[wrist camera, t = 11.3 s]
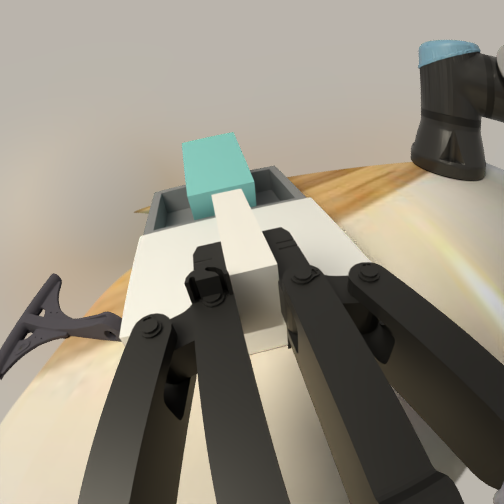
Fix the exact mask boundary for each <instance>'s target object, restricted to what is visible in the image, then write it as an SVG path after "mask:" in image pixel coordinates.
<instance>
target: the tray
mask: <svg viewBox="0 0 504 504" xmlns="http://www.w3.org/2000/svg"><path fill="white" fill-rule="evenodd" d="M250 172H251V175H252V177H253V180H254V183H255V195H256V206H255V207H250V208H251V209H256V208H261V207H265V206H270V205H275V204H280V203H284V202H289V201H294V200H299V199H304V198H306V197H305V196H304V195H303V194H302V193H301V192H300V191H299V190H298V188H297V187H296V186H295V185H294V184H293V183H292V182H291V181H290V180H289V179H288V178H287V177H286V176H284V175H283V173H282V172H281V171H279V170H278V169H277V168H276V167H275V166H271V167H265V168H260V169H255V170H250ZM211 218H216V216H210V217H206V218H202V219H198V220H194V217H193V214H192V211H191V207H190V204H189V201H188V197H187V189H186V185H182V186H179V187H174V188H170V189H167V190H163V191H159V192H155V193H154V197H153V200H152V204H151V207H150V211H149V215H148V219H147V222H146V226H145V230H144V234H143V235H147V234H151V233H154V232H158V231H162V230H166V229H170V228H174V227H178V226H182V225H186V224H190V223H195V222H199V221H203V220H207V219H211Z"/></svg>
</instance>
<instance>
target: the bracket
mask: <svg viewBox="0 0 504 504" xmlns="http://www.w3.org/2000/svg"><path fill="white" fill-rule="evenodd" d="M61 284H62V280H61V278H60V277H59V276H58V275H57V274H52V275H51V276H50V277H49V279H48V280H47V281H46V283H45V284H44V285H43V286H42V288H41V289H40V291H39V292H38V293H37V295H36V296H35V297H34V299H33V300H32V302H31V303H30V304H29V306H28V307H27V309H26V310H25V312H24V313H23V315H22V316H21V318H20V319H19V321H18V322H17V323H16V325H15V327H14V328H13V330H12V331H11V333H10V334H9V336H8V338H7V339H6V341H5V342H4V344H3V346H2V348H1V349H0V380H2V378H3V377H4V375H5V374H6V373H7V372H8V371H9V370H10V368H11V367H12V366H13V365H14V364H15V363H16V362H17V361H18V360H20V359H21V358H22V357H23V356H24V355H25V354H27V353H28V352H30V351H31V350H33V349H35V348H36V347H37V346H39V345H41V344H44V343H47V342H49V341H52V340H56V339H60V338H63V339H66V337H68V336H76V337H84V338H92V339H100V340H110V341H120V342H122V341H121V340H120V338H119V336H120V329H121V323H122V318H121V317H119V316H117V315H116V314H113V313H111V312H103V313H101V314H98V315H94V316H89V317H84V318H79V319H72V318H70V317H68V316H67V315H65V314H64V313H63V312H62V311H61V309H60V306H59V291H60V288H61ZM43 309H44V310H45V315H44V317H41V316H39V315H40V313H41V312H42V310H43ZM109 331H110V332H112V333H113V334H115V335H113V334H111V333H110V332H109ZM28 333H33V334H32V335H31V336H30V337H28V338H27V339H25V337H26V336H27V334H28ZM24 339H25V340H24Z"/></svg>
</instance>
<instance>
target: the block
mask: <svg viewBox="0 0 504 504" xmlns="http://www.w3.org/2000/svg"><path fill="white" fill-rule="evenodd" d="M182 150H183V160H184V171H185V180H186V189H187V197H188V201H189V204H190V207H191V211H192V214H193V217H194V220H198V219H202V218H206V217H210V216H215V211H214V206H213V201H212V196H211V195H213V194H218V193H222V192H227V191H231V190H236V189H242V191H243V193H244V195H245V197H246V199H247V202H248V204H249V206H250V207H255V206H256V195H255V183H254V180H253V177H252V175H251V172H250V170H249V168H248V165H247V163H246V161H245V158H244V156H243V154H242V151H241V149H240V147H239V144H238V142H237V140H236V137H235V135H234V133H233V132H232V133H227V134H222V135H217V136H212V137H208V138H203V139H199V140H194V141H190V142H186V143H182Z"/></svg>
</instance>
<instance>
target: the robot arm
mask: <svg viewBox="0 0 504 504" xmlns="http://www.w3.org/2000/svg"><path fill="white" fill-rule="evenodd" d="M418 68H420V81H421V121H420V125H419V128H418V131H417V135H416V139H415V142H414V143H413V145H412V147H411V160H412V161H413V162H414V163H415V164H416V165H418V166H420V167H421V168H423V169H426V170H428V171H431V172H433V173H436V174H440V175H443V176H447V177H451V178H456V179H462V180H479V179H482V178H483V177H484V175H485V168H486V162H485V156H484V149H483V143H482V138H481V131H480V130H481V117H486V118H490V119H493V120H497V121H500V122H503V123H504V45H503V46H502V47H501V48H500V49H499V50H498V53H497V57H493V56H488V55H485V54H481V53H480V49H479V47H478V45H476V44H474V43H470V42H466V41H457V40H436V41H429V42H425V43H423V44H421V46H420V47H419V65H418ZM211 196H212V201H213V206H214V211H215V216H216V221H217V226H218V231H219V236H220V240H221V241H220V242H216V243H211V244H207V245H203V246H198V247H197V248H196V250H195V252H194V253H193V269H194V270H193V271H192V272H190V273H189V275H188V276H187V277H186V279H185V283H184V284H185V287H186V289H187V292H188V295H189V297H190V300H191V303H192V305H191V306H190V307H189V308H188V309H187V310H186V311H184V312H183V313H181V314H179V315H177V316H175V317H173V318H171V319H169V317H167V316H166V315H164V314H159V313H155V314H149V315H147V316H145V317H143V318H141V319H140V320H139V321H138V322H137V323H136V324H135V326H134V327H133V329H132V331H131V334H130V336H129V339H128V341H127V344H126V346H125V349H124V352H123V354H122V357H121V359H120V362H119V365H118V368H117V370H116V373H115V376H114V379H113V381H112V384H111V387H110V390H109V393H108V396H107V399H106V402H105V405H104V408H103V411H102V414H101V417H100V420H99V424H98V427H97V430H96V434H95V437H94V440H93V444H92V447H91V451H90V455H89V458H88V462H87V466H86V470H85V474H84V478H83V482H82V486H81V491H80V495H79V500H78V504H176V503H177V495H178V488H179V481H180V474H181V467H182V460H183V454H184V447H185V441H186V435H187V429H188V423H189V417H190V411H191V405H192V399H193V393H194V388H195V382H196V374H197V373H198V382H199V391H200V399H201V408H202V415H203V423H204V430H205V437H206V444H207V451H208V457H209V463H210V469H211V475H212V480H213V486H214V491H215V497H216V502H217V504H290V501H289V498H288V494H287V491H286V488H285V484H284V481H283V478H282V474H281V471H280V467H279V464H278V460H277V457H276V453H275V450H274V446H273V443H272V439H271V436H270V432H269V428H268V425H267V421H266V417H265V414H264V410H263V406H262V403H261V399H260V395H259V391H258V387H257V384H256V380H255V376H254V372H253V368H252V364H251V360H250V356H249V353H248V349H247V345H246V341H245V337H244V334H247V333H251V332H256V331H260V330H264V329H268V328H272V327H276V326H279V325H283V318H284V321H285V323H286V326H287V339H288V349H289V348H291V347H292V349H293V352H294V354H295V357H296V360H297V362H298V365H299V368H300V370H301V373H302V376H303V378H304V381H305V384H306V386H307V389H308V392H309V394H310V397H311V399H312V402H313V405H314V407H315V410H316V413H317V415H318V418H319V421H320V423H321V426H322V429H323V431H324V434H325V437H326V439H327V442H328V445H329V447H330V450H331V453H332V455H333V458H334V461H335V463H336V466H337V469H338V471H339V474H340V477H341V479H342V482H343V485H344V487H345V490H346V493H347V496H348V498H349V501H350V504H464V502H463V500H462V498H461V495H460V493H459V491H458V489H457V487H456V485H455V484H454V482H453V481H452V480H451V479H450V478H449V477H448V476H447V475H445V474H443V473H440V472H438V471H437V470H435V469H434V467H433V466H432V464H431V462H430V460H429V458H428V456H427V454H426V452H425V450H424V448H423V446H422V444H421V442H420V440H419V438H418V436H417V434H416V432H415V430H414V429H413V427H412V425H411V423H410V421H409V419H408V417H407V415H406V413H405V411H404V410H403V408H402V406H401V404H400V402H399V400H398V398H397V397H396V395H395V393H394V391H393V389H392V387H393V388H394V389H395V390H396V391H397V392H398V393H399V394H400V395H401V396H402V397H403V398H404V399H405V400H406V401H407V403H408V404H409V405H410V406H411V407H412V408H413V409H414V410H415V411H416V412H417V413H418V414H419V415H420V416H421V418H422V419H423V420H424V421H425V422H426V423H427V424H428V425H429V426H430V427H431V428H432V429H433V430H434V431H435V433H436V434H437V435H438V436H439V437H440V438H441V439H442V440H443V441H444V442H445V443H446V444H447V446H448V447H449V448H450V449H451V450H452V451H453V452H454V453H455V454H456V455H457V456H458V457H459V459H460V460H461V461H462V462H463V463H464V464H465V465H466V466H467V467H468V468H469V469H470V471H471V472H472V473H474V474H475V475H476V476H477V477H478V478H479V479H480V480H481V481H483V482H484V483H486V484H488V485H489V486H491V487H493V488H495V489H497V490H498V491H497V492H496V493H495V495H494V498H493V503H494V504H504V365H503V364H502V363H500V362H499V361H498V360H497V359H496V358H495V357H494V356H493V355H492V354H490V353H489V352H488V351H487V350H486V349H485V348H484V347H483V346H481V345H480V344H479V343H478V342H477V341H476V340H475V339H473V338H472V337H471V336H470V335H469V334H468V333H466V332H465V331H464V330H463V329H462V328H460V327H459V326H458V325H457V324H456V323H454V322H453V321H452V320H451V319H450V318H448V317H447V316H446V315H445V314H443V313H442V312H441V311H440V310H438V309H437V308H436V307H435V306H433V305H432V304H431V303H430V302H428V301H427V300H426V299H425V298H423V297H422V296H421V295H419V294H418V293H417V292H415V291H414V290H413V289H412V288H410V287H409V286H408V285H406V284H405V283H404V282H402V281H401V280H400V279H398V278H397V277H396V276H394V275H393V274H392V273H390V272H389V271H388V270H386V269H385V268H384V267H382V266H380V265H378V264H375V263H371V262H362V263H358V264H355V265H354V266H353V267H351V268H350V271H349V273H348V276H328V275H324V274H323V272H322V271H321V270H320V269H319V268H317V267H315V266H312V265H310V264H309V262H308V261H307V259H306V257H305V256H304V254H303V253H302V251H301V249H300V248H299V246H297V243H296V242H295V240H294V238H293V237H292V235H291V234H290V232H289V231H287V230H285V229H283V228H282V227H279V228H274V229H269V230H265V231H261V229H260V226H259V224H258V222H257V220H256V218H255V216H254V214H253V212H252V210H251V208H250V206H249V204H248V202H247V199H246V197H245V195H244V193H243V191H242V189H236V190H231V191H227V192H222V193H218V194H213V195H211ZM389 383H390V384H391V385H392V387H391V386H390V384H389Z"/></svg>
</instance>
